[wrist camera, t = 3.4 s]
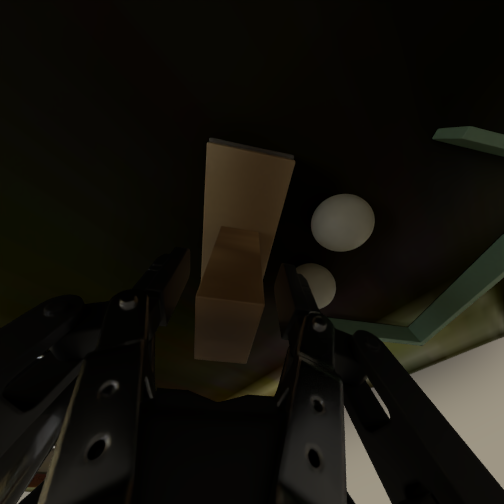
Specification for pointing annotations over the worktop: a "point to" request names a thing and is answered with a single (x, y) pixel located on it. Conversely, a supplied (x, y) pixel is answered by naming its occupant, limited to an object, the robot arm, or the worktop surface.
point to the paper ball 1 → (319, 282)
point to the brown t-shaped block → (237, 245)
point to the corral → (468, 284)
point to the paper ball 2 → (342, 222)
